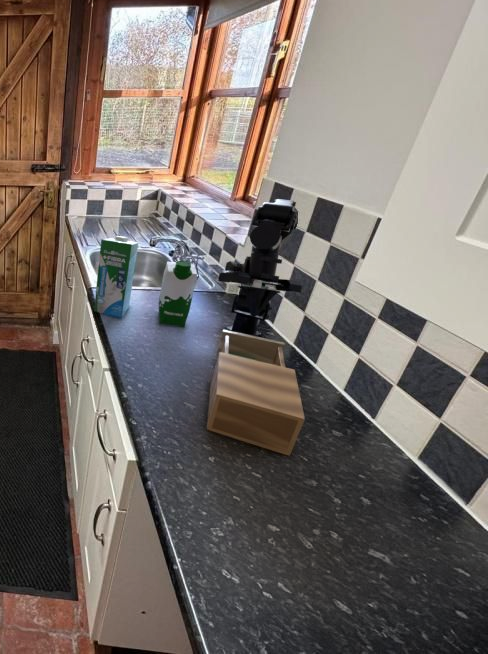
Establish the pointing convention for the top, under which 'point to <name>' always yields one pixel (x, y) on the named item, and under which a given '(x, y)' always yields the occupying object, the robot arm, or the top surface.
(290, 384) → the cabinet
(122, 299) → the milk carton
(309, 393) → the top surface
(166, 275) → the soya milk
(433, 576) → the top surface
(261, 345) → the drawer
